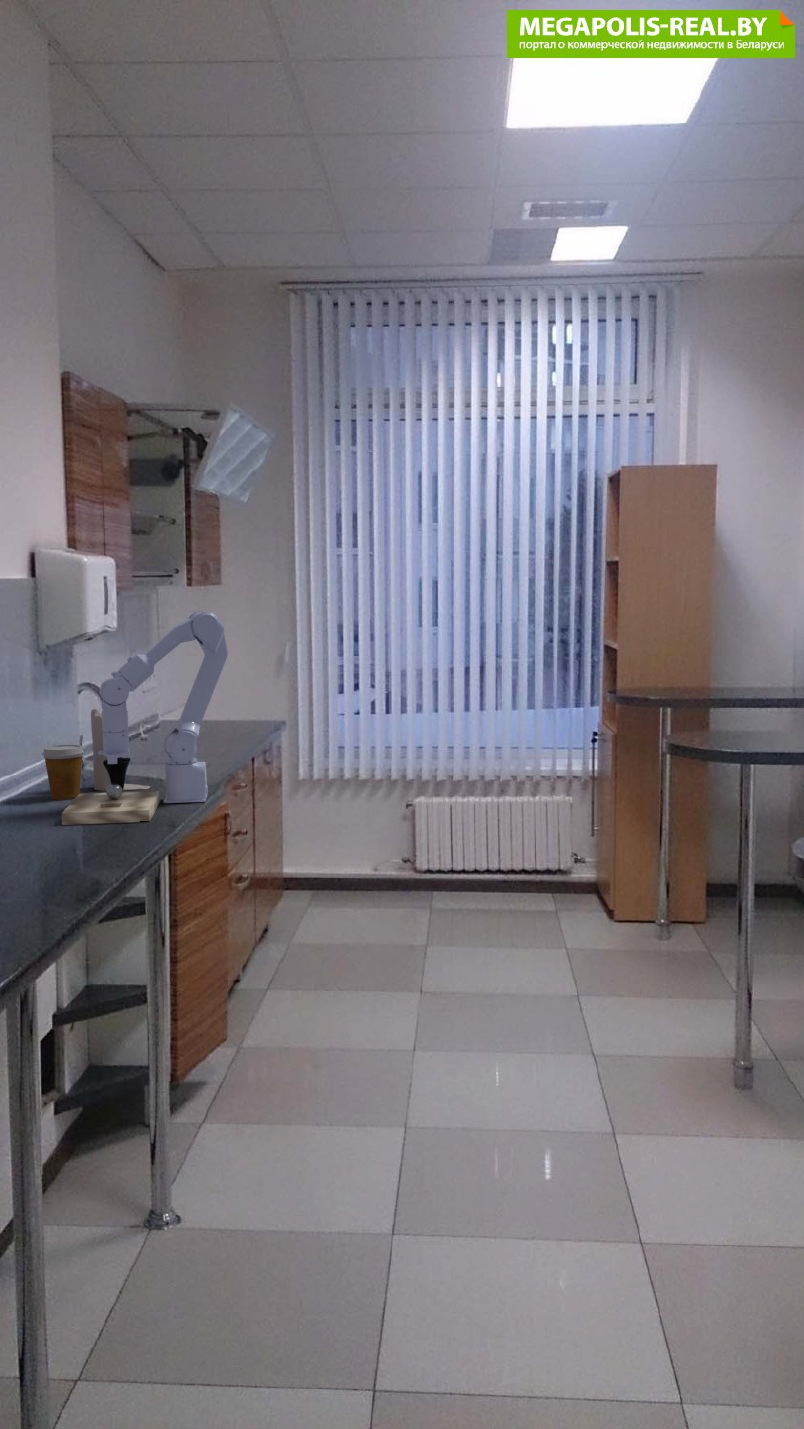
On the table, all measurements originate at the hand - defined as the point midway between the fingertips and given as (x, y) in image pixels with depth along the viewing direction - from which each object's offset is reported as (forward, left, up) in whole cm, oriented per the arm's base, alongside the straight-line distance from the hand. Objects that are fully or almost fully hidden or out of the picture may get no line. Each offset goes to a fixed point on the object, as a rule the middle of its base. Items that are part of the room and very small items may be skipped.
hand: (118, 790), depth 258 cm
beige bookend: (+2, -22, -3) cm, 23 cm away
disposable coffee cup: (+14, -12, -3) cm, 19 cm away
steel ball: (0, +6, +1) cm, 6 cm away
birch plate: (0, +9, -3) cm, 9 cm away
